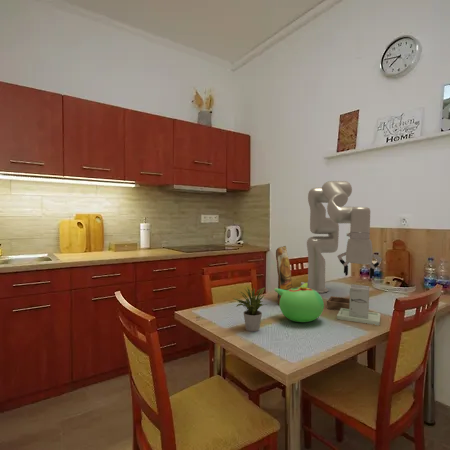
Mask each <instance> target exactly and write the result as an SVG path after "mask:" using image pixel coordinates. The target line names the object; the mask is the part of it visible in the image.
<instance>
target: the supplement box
mask: <svg viewBox="0 0 450 450" xmlns="http://www.w3.org/2000/svg"><path fill="white" fill-rule="evenodd" d="M349 298H350V305H349V317H356V318H363V319H368V314H369V312H370V311H369V310H370V309H369V308H370V286H369V285H368V286H367V285H360V284H359V285H358V284H351V285H350V287H349Z"/></svg>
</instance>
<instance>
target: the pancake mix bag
mask: <svg viewBox="0 0 450 450" xmlns="http://www.w3.org/2000/svg"><path fill="white" fill-rule="evenodd" d="M288 255H289V254H288V252H287V246H286V245H283V246H278V248H277V249H275V259H276V269H277V270H276V271H277V276H278V278H277V283H278V284H277V288H278V289H283V290H289V289H291V288H293V284H292V283H293V281H292V271H291V263H290V259H289V256H288ZM280 298H281V295H279V294H278V293H277V306H278V305H279V302H280ZM279 306H280V305H279Z"/></svg>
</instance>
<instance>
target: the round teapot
mask: <svg viewBox="0 0 450 450" xmlns="http://www.w3.org/2000/svg"><path fill="white" fill-rule="evenodd" d="M307 286H308V283H306V282H305V284H303V285H300V286H295V287H292V288H291V289H289V290H283V289H278V287H275V288H274V289H273V290H274V292H275V293H276V294H277V295H278V294H279V295H281V298H280V302H279V309H280V311H281V314H283V316H285V317H286V318H287V319H288V320H291V321H292V322H297V323H308V322H312V321H315V320H316V319H318V318H319V317H321V315H322V314H323V312H324V309H325V304H324V299H323V298H322V295H321V294H320V293H318V292H316V291H315V290H313V289H310V288H307Z"/></svg>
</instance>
